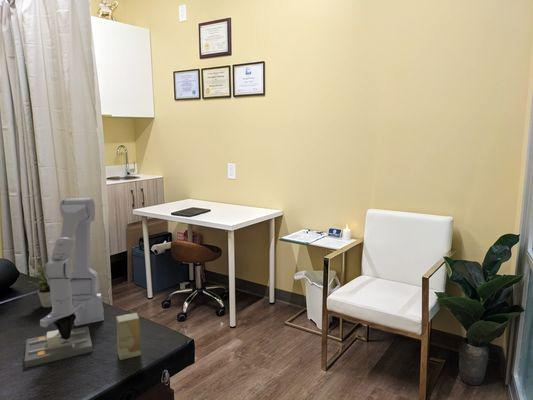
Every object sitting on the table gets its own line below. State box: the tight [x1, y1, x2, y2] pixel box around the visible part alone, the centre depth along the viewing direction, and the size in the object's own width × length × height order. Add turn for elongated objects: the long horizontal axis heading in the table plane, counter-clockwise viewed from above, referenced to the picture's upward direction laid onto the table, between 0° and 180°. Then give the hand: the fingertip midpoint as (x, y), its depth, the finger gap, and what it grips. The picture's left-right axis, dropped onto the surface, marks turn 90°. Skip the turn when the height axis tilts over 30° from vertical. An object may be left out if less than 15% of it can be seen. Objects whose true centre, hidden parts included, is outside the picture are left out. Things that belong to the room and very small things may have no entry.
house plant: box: [27, 264, 52, 308], centre depth 159 cm, size 14×14×16 cm
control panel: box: [24, 325, 93, 369], centre depth 128 cm, size 18×14×3 cm
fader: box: [46, 329, 60, 347], centre depth 127 cm, size 3×4×3 cm
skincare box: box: [115, 312, 142, 361], centre depth 124 cm, size 6×4×12 cm
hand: (65, 338), depth 129 cm, fingers closed
